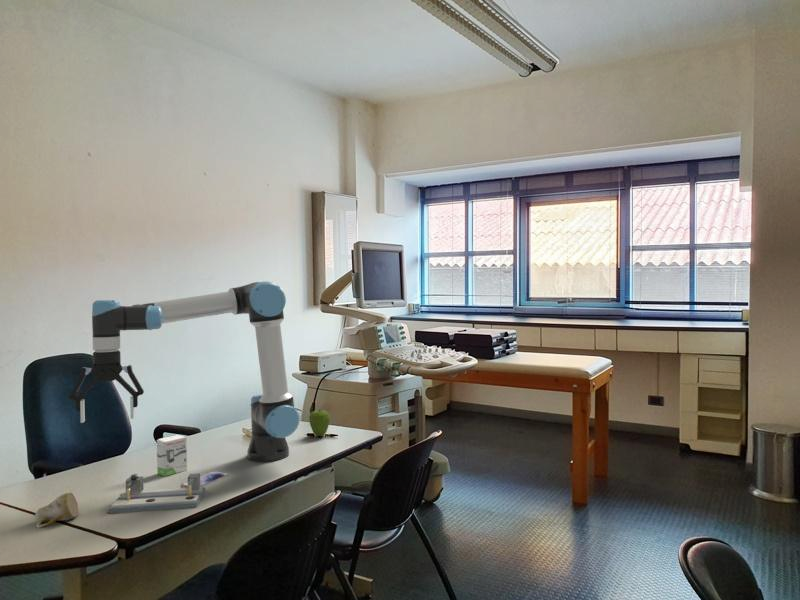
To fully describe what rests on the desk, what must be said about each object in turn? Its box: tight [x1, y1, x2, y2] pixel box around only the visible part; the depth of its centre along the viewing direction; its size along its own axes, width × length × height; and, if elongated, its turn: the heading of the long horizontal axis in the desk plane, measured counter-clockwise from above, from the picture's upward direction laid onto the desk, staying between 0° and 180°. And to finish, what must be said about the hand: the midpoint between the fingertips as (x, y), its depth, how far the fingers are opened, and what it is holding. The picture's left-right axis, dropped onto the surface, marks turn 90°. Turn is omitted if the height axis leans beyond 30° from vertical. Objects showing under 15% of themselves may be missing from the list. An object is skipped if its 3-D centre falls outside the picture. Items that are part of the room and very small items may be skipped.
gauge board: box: [107, 473, 207, 514], centre depth 170 cm, size 24×13×6 cm, turn 98°
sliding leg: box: [125, 473, 145, 501], centre depth 169 cm, size 4×8×5 cm, turn 8°
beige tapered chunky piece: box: [34, 492, 79, 528], centre depth 157 cm, size 8×10×10 cm
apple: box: [308, 409, 331, 437], centre depth 241 cm, size 9×8×12 cm
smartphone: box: [180, 470, 230, 488], centre depth 188 cm, size 7×1×15 cm
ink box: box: [156, 434, 188, 477], centre depth 197 cm, size 9×5×12 cm, turn 141°
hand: (107, 420), depth 176 cm, fingers open, 13 cm apart
